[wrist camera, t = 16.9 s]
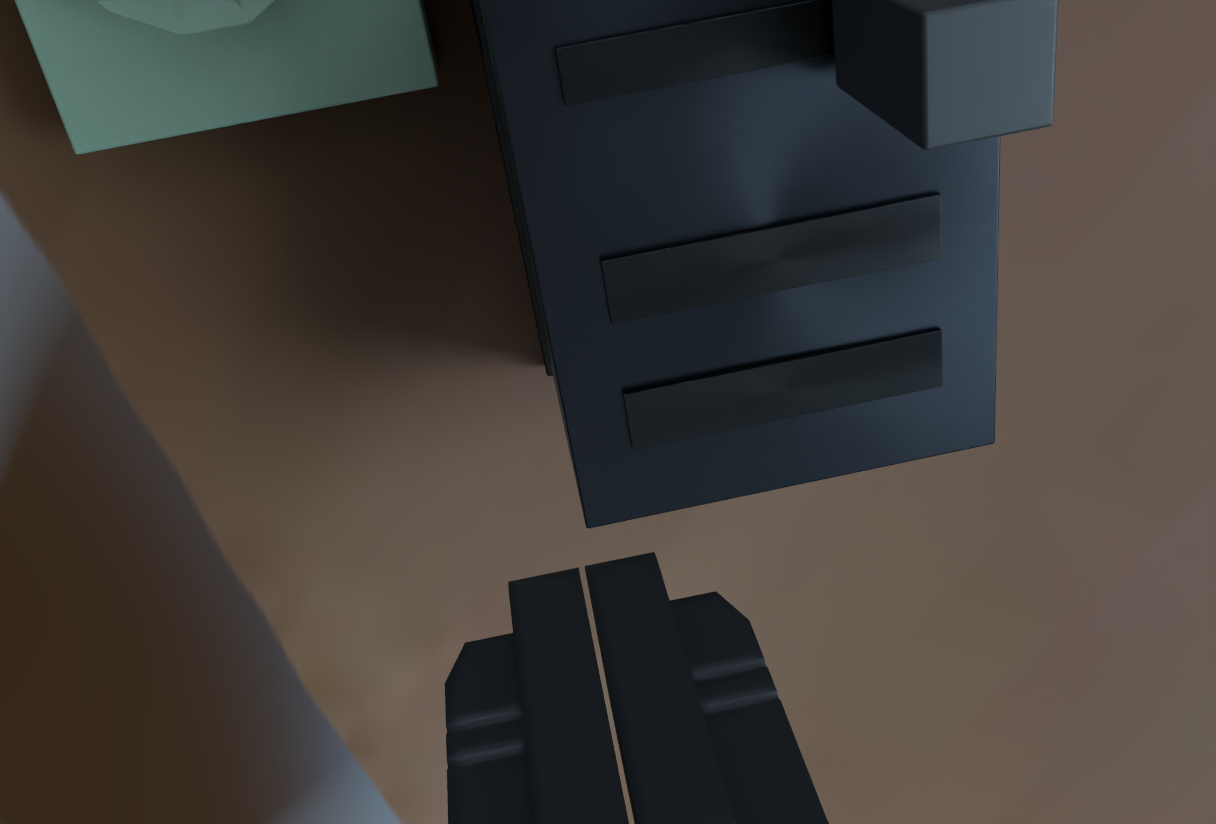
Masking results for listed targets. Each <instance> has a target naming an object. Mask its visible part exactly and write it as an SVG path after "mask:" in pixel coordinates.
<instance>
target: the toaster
mask: <svg viewBox="0 0 1216 824" xmlns="http://www.w3.org/2000/svg"><path fill="white" fill-rule="evenodd" d="M470 2H471V7H472V12H473V17H474V21H475V26H476V31H477V36H478V41H479V46H480V51H481V56H482V61H483V66H484V70H485V75H486V80H487V85H488V90H489V95H490V100H491V105H492V110H493V114H494V119H495V124H496V129H497V134H498V139H499V144H500V149H501V154H502V159H503V163H504V168H505V173H506V178H507V183H508V188H509V193H510V198H511V203H512V207H513V212H514V217H515V222H516V227H517V232H518V237H519V242H520V247H521V252H522V256H523V261H524V266H525V271H526V276H527V281H528V286H529V291H530V296H531V300H532V305H533V310H534V315H535V320H536V325H537V330H538V335H539V340H540V345H541V349H542V354H543V359H544V364H545V369H546V374H547V375H548V376H553V377H554V382H555V386H556V391H557V395H558V400H559V405H560V409H561V414H562V418H563V423H564V428H565V432H566V437H567V441H568V446H569V451H570V455H571V460H572V464H573V469H574V474H575V478H576V483H577V487H578V492H579V497H580V501H581V506H582V510H583V515H584V519H585V524H586V527H587V528H593V527H598V526H603V525H607V524H612V523H617V522H622V521H627V520H631V519H636V518H641V517H646V516H650V515H655V514H660V513H665V512H669V511H674V510H679V509H684V508H689V507H693V506H698V505H703V504H708V503H712V502H717V501H722V500H727V499H731V498H736V497H741V496H746V495H751V494H755V493H760V492H765V491H770V490H774V489H779V488H784V487H789V486H793V485H798V484H803V483H808V482H813V481H817V480H822V479H827V478H832V477H836V476H841V475H846V474H851V473H855V472H860V471H865V470H870V469H875V468H879V467H884V466H889V465H894V464H898V463H903V462H908V461H913V460H917V459H922V458H927V457H932V456H937V455H941V454H946V453H951V452H956V451H960V450H965V449H970V448H975V447H979V446H984V445H989V444H993V443H994V442H995V392H996V338H997V284H998V231H999V177H1000V136H998V137H993V138H988V139H983V140H978V141H973V142H967V143H962V144H957V145H952V146H947V147H942V148H937V149H932V150H923V149H922V148H920V147H919V146H918V145H916V144H915V143H914V142H912V141H911V140H910V139H908V138H907V137H906V136H904V135H903V134H901V133H900V132H899V131H897V130H896V129H895V128H893V127H892V126H891V125H889V124H888V123H886V122H885V121H884V120H882V119H881V118H880V117H878V116H877V115H876V114H874V113H873V112H871V111H870V110H869V109H867V108H866V107H865V106H863V105H862V104H861V103H859V102H858V101H856V100H855V99H854V98H852V97H851V96H850V95H848V94H847V93H846V92H844V91H843V90H841V89H840V88H839V87H838V86H837V84H836V69H835V50H834V31H833V12H832V0H470Z"/></svg>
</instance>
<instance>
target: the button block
mask: <svg viewBox="0 0 1216 824" xmlns="http://www.w3.org/2000/svg"><path fill="white" fill-rule="evenodd" d="M15 3H16V5H17V8H18V10H19V13H20V15H21V18H22V21H23V23H24V26H25V28H26V31H27V33H28V36H29V38H30V41H31V43H32V46H33V48H34V51H35V53H36V56H37V59H38V61H39V64H40V66H41V69H42V71H43V74H44V76H45V79H46V81H47V84H48V86H49V89H50V91H51V94H52V96H53V99H54V102H55V104H56V107H57V109H58V112H59V114H60V117H61V119H62V122H63V124H64V127H65V129H66V132H67V134H68V137H69V140H70V142H71V145H72V147H73V150H74V152H75V153H76V154H84V153H89V152H94V151H100V150H105V149H110V148H116V147H121V146H126V145H131V144H137V143H142V142H147V141H152V140H158V139H163V138H168V137H173V136H179V135H184V134H189V133H195V132H200V131H205V130H210V129H216V128H221V127H226V126H231V125H237V124H242V123H247V122H252V121H258V120H263V119H268V118H273V117H279V116H284V115H289V114H295V113H300V112H305V111H310V110H316V109H321V108H326V107H331V106H337V105H342V104H347V103H352V102H358V101H363V100H368V99H374V98H379V97H384V96H389V95H395V94H400V93H405V92H410V91H416V90H421V89H426V88H431V87H436V86H438V84H439V77H438V65H437V60H436V56H435V51H434V47H433V42H432V38H431V34H430V29H429V25H428V20H427V16H426V11H425V7H424V2H423V0H15Z"/></svg>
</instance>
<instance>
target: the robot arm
mask: <svg viewBox="0 0 1216 824" xmlns="http://www.w3.org/2000/svg"><path fill="white" fill-rule="evenodd" d="M585 571H586V577H587V582H588V587H589V593H590V598H591V603H592V609H593V614H594V619H595V625H596V630H597V635H598V641H599V646H600V651H601V656H602V662H603V667H604V672H605V678H606V683H607V688H608V693H609V698H610V704H611V709H612V714H613V719H614V724H615V729H616V734H617V739H618V744H619V749H620V754H621V759H622V764H623V769H624V774H625V778H626V783H627V788H628V793H629V798H630V803H631V808H632V813H633V818H634V823H635V824H829V823H828V821H827V818H826V816H825V813H824V811H823V808H822V806H821V803H820V801H819V798H818V795H817V793H816V790H815V788H814V785H813V783H812V780H811V777H810V775H809V772H808V770H807V767H806V765H805V762H804V759H803V757H802V754H801V752H800V749H799V747H798V744H797V742H796V739H795V736H794V734H793V731H792V729H791V726H790V724H789V721H788V718H787V716H786V713H785V711H784V708H783V706H782V703H781V700H780V699H778V695H777V690H776V688H775V685H774V683H773V680H772V677H771V675H770V672H769V670H768V667H766V665H765V660H764V657H763V654H762V652H761V649H760V647H759V644H758V641H757V639H756V636H755V634H754V631H753V629H752V626H751V624H750V621H749V620H748V619H747V618H746V617H745V616H744V615H742V614H741V613H740V612H739V611H738V610H737V609H736V608H734V607H733V606H732V605H731V604H730V603H729V602H727V601H726V600H725V599H724V598H723V597H722V596H721V595H719V594H718V593H717V592H711V593H706V594H701V595H696V596H691V597H686V598H681V599H676V600H671V601H669V598H668V594H667V591H666V588H665V584H664V581H663V578H662V574H661V571H660V568H659V564H658V561H657V558H656V555H655V553H654V552H652V553H647V554H642V555H637V556H632V557H628V558H623V559H618V560H613V561H608V562H603V563H598V564H593V565H588V566H585ZM508 586H509V597H510V607H511V616H512V626H513V633H511V634H506V635H501V636H496V637H491V638H486V639H481V640H476V641H471V642H466V643H465V644H464V646H463V648H462V650H461V652H460V654H459V656H458V658H457V660H456V662H455V664H454V666H453V668H452V670H451V672H450V674H449V676H448V678H447V680H446V682H445V704H446V727H447V734H446V747H447V763H448V769H447V789H448V824H629V822H628V816H627V811H626V806H625V801H624V796H623V791H622V786H621V781H620V776H619V771H618V766H617V761H616V756H615V751H614V746H613V741H612V735H611V730H610V725H609V720H608V715H607V710H606V705H605V700H604V695H603V690H602V685H601V680H600V675H599V670H598V665H597V660H596V654H595V649H594V644H593V639H592V634H591V629H590V624H589V619H588V614H587V609H586V604H585V599H584V594H583V589H582V584H581V579H580V573H579V569H578V568H574V569H569V570H564V571H559V572H554V573H549V574H544V575H539V576H534V577H529V578H525V579H520V580H515V581H510V582H509V583H508Z"/></svg>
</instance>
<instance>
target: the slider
mask: <svg viewBox="0 0 1216 824" xmlns="http://www.w3.org/2000/svg"><path fill="white" fill-rule="evenodd" d="M832 12H833V31H834V50H835V69H836V84H837V86H838V87H839V88H840V89H841V90H843V91H844V92H846V93H847V94H848V95H850V96H851V97H852V98H854V99H855V100H856V101H858V102H859V103H861V104H862V105H863V106H865V107H866V108H867V109H869V110H870V111H871V112H873V113H874V114H876V115H877V116H878V117H880V118H881V119H882V120H884V121H885V122H886V123H888V124H889V125H891V126H892V127H893V128H895V129H896V130H897V131H899V132H900V133H901V134H903V135H904V136H906V137H907V138H908V139H910V140H911V141H912V142H914V143H915V144H916V145H918V146H919V147H920V148H922V149H923V150H932V149H937V148H942V147H947V146H952V145H957V144H962V143H967V142H973V141H978V140H983V139H988V138H993V137H998V136H1003V135H1008V134H1013V133H1018V132H1023V131H1028V130H1034V129H1039V128H1044V127H1048V126H1051V125H1052V123H1053V111H1054V87H1055V63H1056V39H1057V15H1058V0H832Z"/></svg>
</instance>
